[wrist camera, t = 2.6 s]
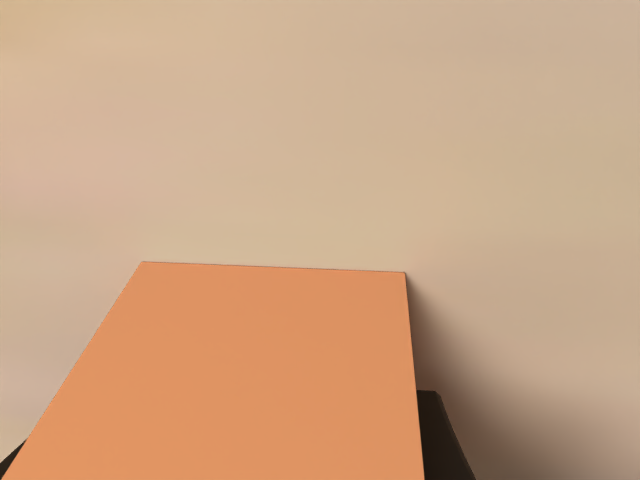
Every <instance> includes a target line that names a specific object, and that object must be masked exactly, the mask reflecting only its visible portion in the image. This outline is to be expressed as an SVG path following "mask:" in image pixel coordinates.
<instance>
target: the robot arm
mask: <svg viewBox="0 0 640 480" xmlns="http://www.w3.org/2000/svg"><path fill="white" fill-rule="evenodd" d="M416 396H417V406H418V417H419V427H420V438H421V448H422V459H423V469H424V480H476V479H475V477H474V474H473V472H472V470H471V468H470V466H469V464H468V462H467V460H466V458H465V456H464V454H463V451H462V449H461V447H460V445H459V443H458V440H457V438H456V436H455V433H454V431H453V429H452V426H451V424H450V421H449V419H448V416H447V414H446V411H445V408H444V406H443V403H442V400H441V397H440V395H439V394H437V393H436V392H435V391H422V390H416ZM27 439H28V438H27ZM27 439H26V440H27ZM26 440H25V441H24V442H23V443H22V444H21V445H20V446H18V447H17V448H16V449H15V450H14V451H13V452H12V453H11V454H10V455H9V456H7V457H6V458H5V459H4V460H3V461H2V462H1V463H0V480H1V479H2V477H3V476H4V474H5V473H6V471H7V470H8V468H9V467H10V465H11V464H12V462H13V460H14V459H15V457H16V456H17V454H18V453H19V451H20V450H21V448H22V446H23V445H24V443H25V442H26Z"/></svg>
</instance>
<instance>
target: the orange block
mask: <svg viewBox="0 0 640 480" xmlns="http://www.w3.org/2000/svg"><path fill="white" fill-rule="evenodd" d="M1 480H424V469H423V459H422V448H421V438H420V427H419V417H418V406H417V396H416V385H415V375H414V364H413V354H412V343H411V333H410V322H409V312H408V301H407V291H406V280H405V273H402V272H377V271H353V270H328V269H304V268H279V267H255V266H230V265H206V264H182V263H157V262H141V263H140V265H139V266H138V268H137V269H136V271H135V273H134V274H133V276H132V277H131V279H130V280H129V282H128V283H127V285H126V287H125V288H124V290H123V291H122V293H121V294H120V296H119V297H118V299H117V301H116V302H115V304H114V305H113V307H112V308H111V310H110V311H109V313H108V314H107V316H106V318H105V319H104V321H103V322H102V324H101V325H100V327H99V328H98V330H97V332H96V333H95V335H94V336H93V338H92V339H91V341H90V342H89V344H88V346H87V347H86V349H85V350H84V352H83V353H82V355H81V356H80V358H79V359H78V361H77V363H76V364H75V366H74V367H73V369H72V370H71V372H70V373H69V375H68V377H67V378H66V380H65V381H64V383H63V384H62V386H61V387H60V389H59V391H58V392H57V394H56V395H55V397H54V398H53V400H52V401H51V403H50V405H49V406H48V408H47V409H46V411H45V412H44V414H43V415H42V417H41V418H40V420H39V422H38V423H37V425H36V426H35V428H34V429H33V431H32V432H31V434H30V436H29V437H28V439H27V440H26V442H25V443H24V445H23V446H22V448H21V450H20V451H19V453H18V454H17V456H16V457H15V459H14V460H13V462H12V464H11V465H10V467H9V468H8V470H7V471H6V473H5V474H4V476H3V477H2V479H1Z"/></svg>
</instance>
